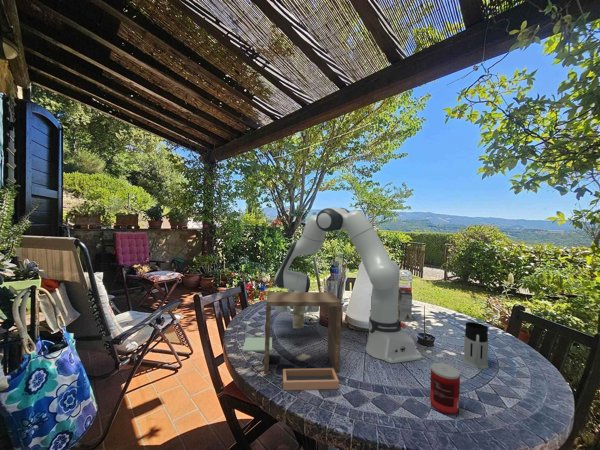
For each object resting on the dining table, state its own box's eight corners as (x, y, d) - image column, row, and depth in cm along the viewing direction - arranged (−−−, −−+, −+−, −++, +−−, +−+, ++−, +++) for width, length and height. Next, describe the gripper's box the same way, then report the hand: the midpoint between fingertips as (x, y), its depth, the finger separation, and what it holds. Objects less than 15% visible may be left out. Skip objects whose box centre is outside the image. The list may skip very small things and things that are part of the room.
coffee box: (397, 315, 161) (398, 289, 161) (408, 317, 160) (409, 290, 160) (399, 321, 152) (400, 293, 152) (411, 322, 151) (412, 294, 151)
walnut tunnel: (331, 353, 110) (333, 292, 110) (339, 372, 96) (341, 302, 96) (265, 354, 108) (267, 291, 108) (264, 374, 94) (266, 301, 94)
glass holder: (487, 361, 108) (488, 324, 108) (491, 378, 96) (492, 336, 96) (462, 355, 113) (463, 320, 113) (463, 370, 101) (464, 330, 101)
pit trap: (333, 375, 95) (333, 368, 95) (338, 388, 87) (338, 381, 87) (282, 376, 93) (282, 368, 93) (283, 390, 85) (283, 382, 85)
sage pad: (272, 338, 123) (272, 337, 123) (271, 351, 111) (271, 349, 111) (245, 339, 122) (245, 337, 122) (242, 351, 110) (242, 350, 110)
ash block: (302, 324, 120) (303, 297, 120) (303, 327, 116) (304, 300, 116) (292, 324, 120) (293, 297, 120) (293, 328, 115) (293, 300, 116)
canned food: (448, 397, 84) (449, 362, 84) (465, 415, 76) (466, 377, 76) (424, 397, 84) (425, 362, 84) (438, 415, 76) (440, 376, 76)
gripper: (274, 296, 130) (274, 304, 116) (316, 296, 132) (321, 304, 118) (274, 309, 130) (274, 319, 116) (316, 309, 132) (320, 318, 118)
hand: (298, 311), depth 117 cm, fingers closed on ash block, 4 cm apart
